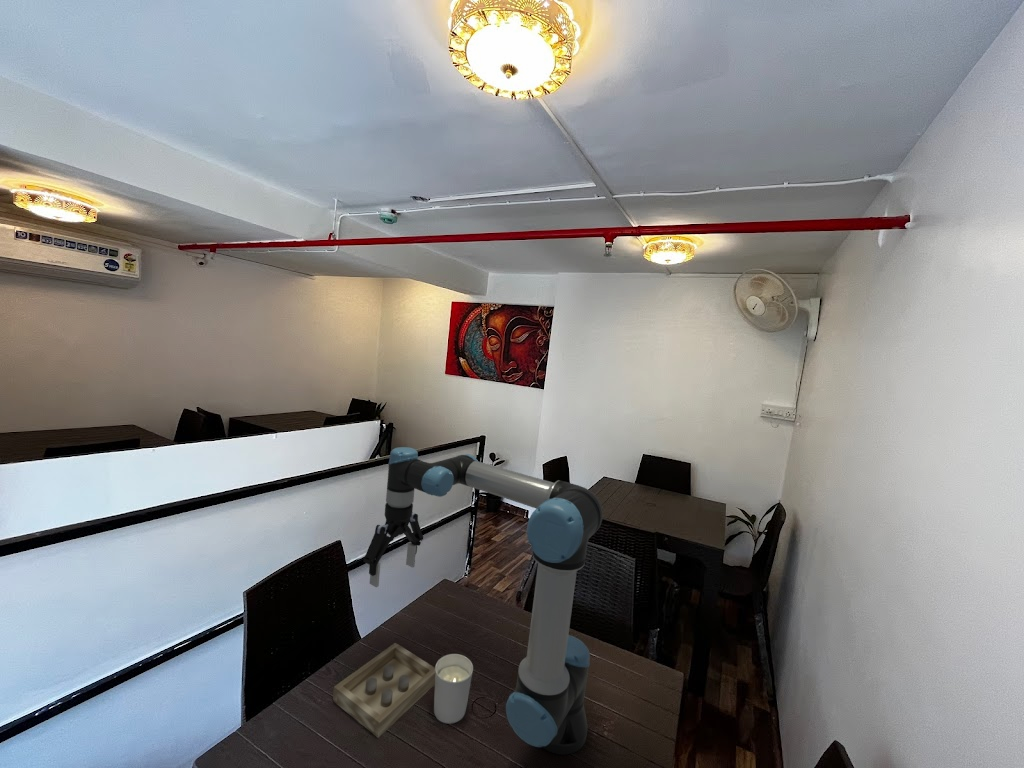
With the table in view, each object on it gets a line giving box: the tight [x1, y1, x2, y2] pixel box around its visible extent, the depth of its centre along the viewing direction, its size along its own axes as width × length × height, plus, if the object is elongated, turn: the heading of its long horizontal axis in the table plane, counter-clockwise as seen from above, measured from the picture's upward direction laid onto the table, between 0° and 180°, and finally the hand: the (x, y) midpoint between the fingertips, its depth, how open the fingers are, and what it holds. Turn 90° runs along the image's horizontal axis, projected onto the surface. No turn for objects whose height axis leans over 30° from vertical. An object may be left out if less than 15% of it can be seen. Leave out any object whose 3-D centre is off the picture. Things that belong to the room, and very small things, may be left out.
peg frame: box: [332, 642, 435, 739], centre depth 114 cm, size 17×21×4 cm
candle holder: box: [433, 653, 474, 725], centre depth 110 cm, size 10×10×12 cm
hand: (392, 574), depth 120 cm, fingers open, 13 cm apart
